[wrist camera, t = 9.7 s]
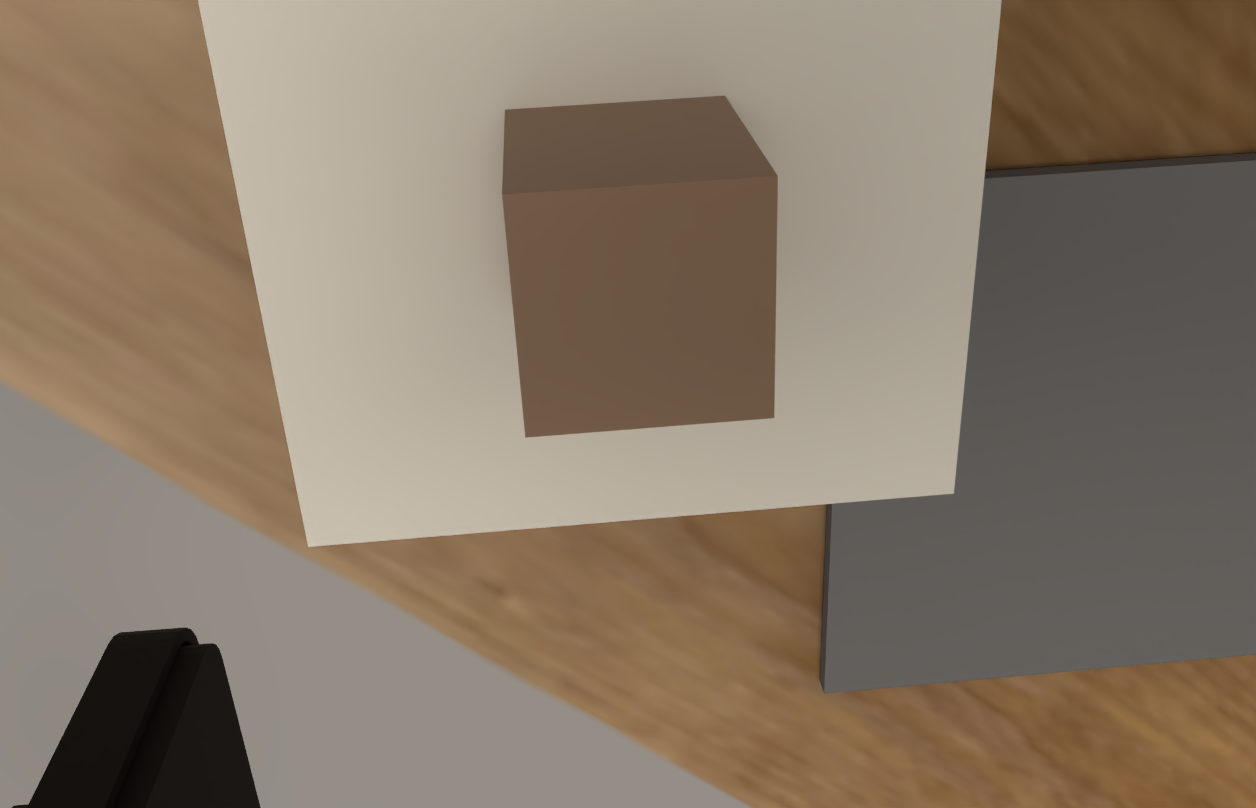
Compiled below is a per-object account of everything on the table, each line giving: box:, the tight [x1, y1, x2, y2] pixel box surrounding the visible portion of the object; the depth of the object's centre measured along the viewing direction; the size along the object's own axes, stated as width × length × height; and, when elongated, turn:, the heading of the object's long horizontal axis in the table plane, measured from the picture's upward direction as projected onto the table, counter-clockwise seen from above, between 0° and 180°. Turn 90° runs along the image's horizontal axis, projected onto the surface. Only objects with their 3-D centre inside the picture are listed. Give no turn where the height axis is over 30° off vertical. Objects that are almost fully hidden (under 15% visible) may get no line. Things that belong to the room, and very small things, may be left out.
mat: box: [820, 153, 1256, 694], centre depth 34 cm, size 16×16×1 cm
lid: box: [198, 0, 1002, 547], centre depth 21 cm, size 14×14×6 cm
